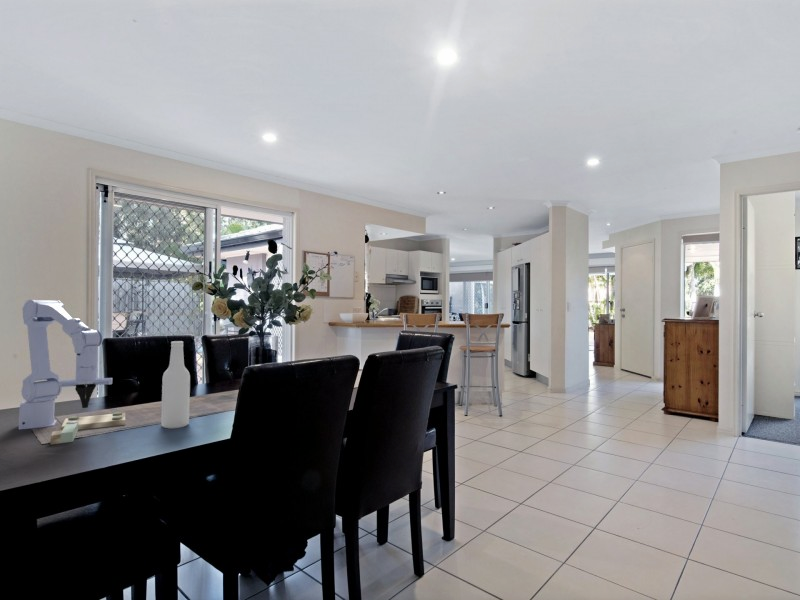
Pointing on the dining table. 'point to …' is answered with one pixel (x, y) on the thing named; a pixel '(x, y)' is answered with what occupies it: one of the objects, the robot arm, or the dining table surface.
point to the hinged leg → (69, 431)
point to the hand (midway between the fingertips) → (85, 407)
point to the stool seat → (91, 423)
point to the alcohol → (175, 390)
